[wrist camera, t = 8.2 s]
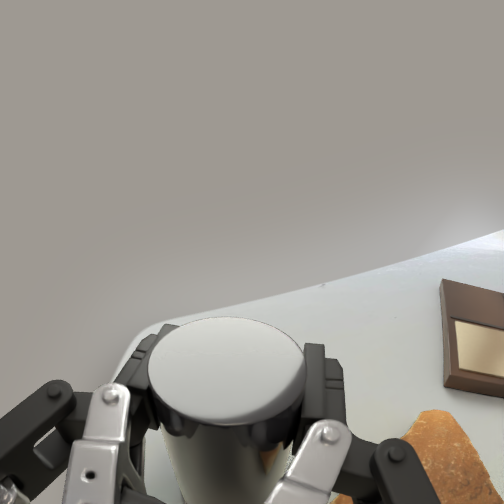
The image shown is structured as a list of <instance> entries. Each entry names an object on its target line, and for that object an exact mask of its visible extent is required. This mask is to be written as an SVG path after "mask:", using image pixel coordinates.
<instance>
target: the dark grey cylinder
mask: <svg viewBox="0 0 504 504" xmlns="http://www.w3.org/2000/svg"><path fill="white" fill-rule="evenodd" d="M307 377H308V367H307V361H306V359H305V356H304V354H303V352H302V350H301V349H300V347H299V346H298V345H297V343H296V342H295V341H294V340H293V339H292V338H290V337H289V336H288V335H287V334H285V333H284V332H282V331H280V330H279V329H277V328H275V327H273V326H270V325H268V324H265V323H262V322H259V321H255V320H251V319H246V318H238V317H214V318H207V319H201V320H197V321H193V322H190V323H187V324H184V325H182V326H180V327H178V328H176V329H174V330H172V331H171V332H169V333H168V334H166V335H165V336H164V337H163V338H162V339H161V340H159V342H158V343H157V344H156V345H155V346H154V348H153V350H152V351H151V354H150V356H149V359H148V363H147V378H148V383H149V387H150V391H151V395H152V399H153V403H154V407H155V410H156V414H157V418H158V421H159V425H160V428H161V432H162V435H163V439H164V442H165V445H166V449H167V452H168V455H169V458H170V461H171V464H172V467H173V470H174V473H175V476H176V479H177V482H178V485H179V488H180V490H181V493H182V496H183V499H184V501H185V503H186V504H264V503H265V501H266V500H267V498H268V496H269V495H270V493H271V491H272V490H273V488H274V486H275V485H276V483H277V482H278V480H279V479H280V478H281V477H283V475H284V472H285V468H286V464H287V461H288V457H289V453H290V449H291V445H292V441H293V437H294V433H295V429H296V425H297V421H298V417H299V413H300V408H301V404H302V400H303V395H304V391H305V386H306V382H307Z"/></svg>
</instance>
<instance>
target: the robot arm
mask: <svg viewBox="0 0 504 504" xmlns="http://www.w3.org/2000/svg"><path fill="white" fill-rule="evenodd" d="M178 327H180V326H176V325H171V324H164V325H163V327H162V328H161V330H160V332H159V333H158V335H155V334H150V335H149V336H147V337H146V338H144V339H143V340H141V342H140V343H139V345H138V346H137V348H136V350H135V351H134V352H133V354H132V355H131V358H129V360H128V361H127V363H126V364H125V365H124V367H123V368H122V370H121V371H120V373H119V374H118V376H117V377H116V379H115V380H114V382H113V383H106V384H103V385H101V386H99V387H98V388H97V389H96V390H95V391H94V392H93V393H88V392H73V390H72V387H71V386H70V384H69V383H67V382H66V381H63V380H52V381H49V382H47V383H46V384H44V385H43V386H42V387H41V388H39V389H38V390H37V391H35V392H34V393H33V394H31V395H30V396H29V397H28V398H26V399H25V400H24V401H22V402H21V403H20V404H19V405H17V406H16V407H15V408H13V409H12V410H11V411H10V412H8V413H7V414H6V415H5V416H3V417H2V418H1V419H0V504H30V502H31V501H32V500H34V499H35V498H36V497H37V496H38V495H39V494H40V493H41V492H42V491H43V490H44V489H45V488H47V487H48V486H49V485H50V484H51V483H52V482H53V481H54V480H55V479H56V478H57V477H58V476H59V475H60V474H61V473H62V472H64V470H66V469H67V468H68V469H67V474H66V480H65V485H64V492H63V498H62V504H166V503H164V502H162V501H160V500H158V499H157V498H155V497H152V496H149V495H147V493H146V488H145V483H144V465H145V443H146V440H145V436H144V435H145V433H146V431H147V429H148V428H150V429H153V430H158V428H159V426H160V425H159V421H158V418H157V414H156V410H155V407H154V403H153V399H152V395H151V391H150V387H149V383H148V378H147V363H148V359H149V356H150V354H151V351H152V350H153V348H154V346H155V345H156V344H157V343H158V342H159V340H161V339H162V338H163V337H164V336H165V335H166V334H168V333H169V332H171V331H172V330H174V329H176V328H178ZM303 354H304V356H305V359H306V361H307V367H308V377H307V382H306V386H305V391H304V395H303V400H302V404H301V408H300V413H299V417H298V421H297V425H296V429H295V433H294V437H293V446H292V455H295V456H294V458H293V460H292V462H291V464H290V465H289V467H288V469H287V471H286V472H285V474H284V476H283V477H281V478H280V479H279V480H278V482H277V483H276V485H275V486H274V488H273V490H272V491H271V493H270V495H269V496H268V498H267V500H266V501H265V503H264V504H327V503H328V500H329V498H330V495H331V491H333V492H337V493H340V494H343V495H346V496H350V497H351V498H352V501H353V504H441V502H440V500H439V498H438V496H437V494H436V491H435V489H434V487H433V485H432V483H431V481H430V479H429V477H428V475H427V473H426V471H425V469H424V467H423V465H422V463H421V461H420V459H419V457H418V455H417V453H416V451H415V449H414V448H413V446H412V445H411V444H410V443H408V442H407V441H405V440H402V439H398V438H391V439H387V440H384V441H382V442H381V443H380V444H375V443H372V442H368V441H365V440H362V439H360V438H358V437H356V436H355V435H354V434H353V433H352V432H351V431H350V430H349V428H348V426H347V422H346V408H345V392H344V381H343V380H344V378H343V368H342V367H341V365H340V364H339V362H338V360H337V359H331V358H325V346H324V344H312V343H305V345H304V351H303ZM54 426H55V428H56V429H55V430H54V431H53V432H52V433H51V434H50V435H48V436H47V437H46V438H45V439H44V440H43V441H41V442H40V443H39V444H38V445H37V446H36V447H34V445H35V443H36V442H37V441H38V440H39V439H40V438H42V437H43V436H44V435H45V434H46V433H47V432H48V431H50V430H51V429H52V428H53V427H54Z"/></svg>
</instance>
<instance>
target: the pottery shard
mask: <svg viewBox="0 0 504 504" xmlns="http://www.w3.org/2000/svg"><path fill="white" fill-rule="evenodd" d="M400 439H402V440H405V441H407V442H408V443H410V444H411V445H412V446H413V448H414V449H415V451H416V453H417V455H418V457H419V459H420V461H421V463H422V465H423V467H424V469H425V471H426V473H427V475H428V477H429V479H430V481H431V483H432V485H433V487H434V489H435V491H436V494H437V496H438V498H439V500H440V502H441V504H504V501H503V500H502V498H501V497H500V495H499V494H498V493H497V491H496V490H495V488H494V486H493V484H492V482H491V480H490V476H489V473H488V472H487V470H486V468H485V466H484V465H483V462H482V461H481V460H480V458H479V455H478V452H477V451H476V449H475V448H474V447H473V445H472V443H471V441H470V439H469V437H468V436H467V435H466V433H465V432H464V431H463V429H462V428H461V427H460V425H459V424H458V423H457V421H456V420H455V419H454V418H453V416H452V415H451V414H450V413H449V412H446V411H441V410H430V411H423V412H421V413H420V414H419V416H418V418H417V420H416V421H415V422H414V424H413V425H412V427H411V428H410V430H409V431H408V432H407V433H406V434H405V435H404V436H403V437H401V438H400ZM330 504H353V501H352V498H351V497H350V496H346V495H343V494H339V495H338V496H337V497H336V498H335V499H334V500H333V501H332V502H331V503H330Z"/></svg>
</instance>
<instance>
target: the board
mask: <svg viewBox="0 0 504 504" xmlns="http://www.w3.org/2000/svg"><path fill="white" fill-rule="evenodd" d="M439 288H440V298H441V310H442V325H443V347H444V387H449V388H454V389H459V390H464V391H469V392H475V393H480V394H486V395H491V396H497V397H503V398H504V293H500V292H496V291H492V290H488V289H484V288H480V287H475V286H471V285H467V284H463V283H459V282H455V281H451V280H447V279H442V281H441V284H440V287H439Z"/></svg>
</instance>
